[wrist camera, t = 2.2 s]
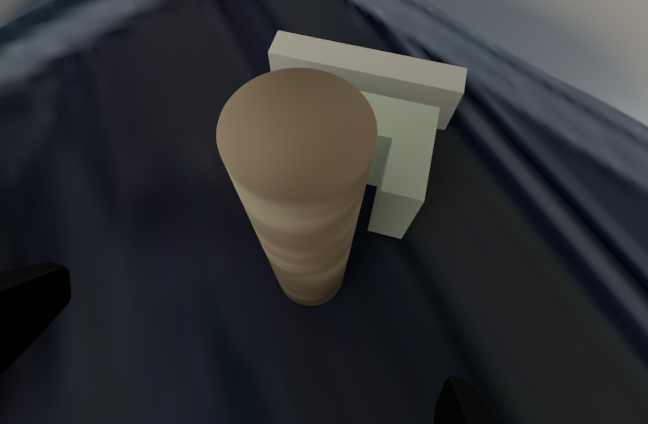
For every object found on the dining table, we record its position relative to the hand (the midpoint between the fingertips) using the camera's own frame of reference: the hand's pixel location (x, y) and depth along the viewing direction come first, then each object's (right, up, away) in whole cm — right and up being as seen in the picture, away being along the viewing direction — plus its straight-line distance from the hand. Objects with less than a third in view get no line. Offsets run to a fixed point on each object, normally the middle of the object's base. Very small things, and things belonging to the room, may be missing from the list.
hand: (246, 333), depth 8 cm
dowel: (+1, -1, +12) cm, 12 cm away
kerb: (+4, +11, +17) cm, 20 cm away
